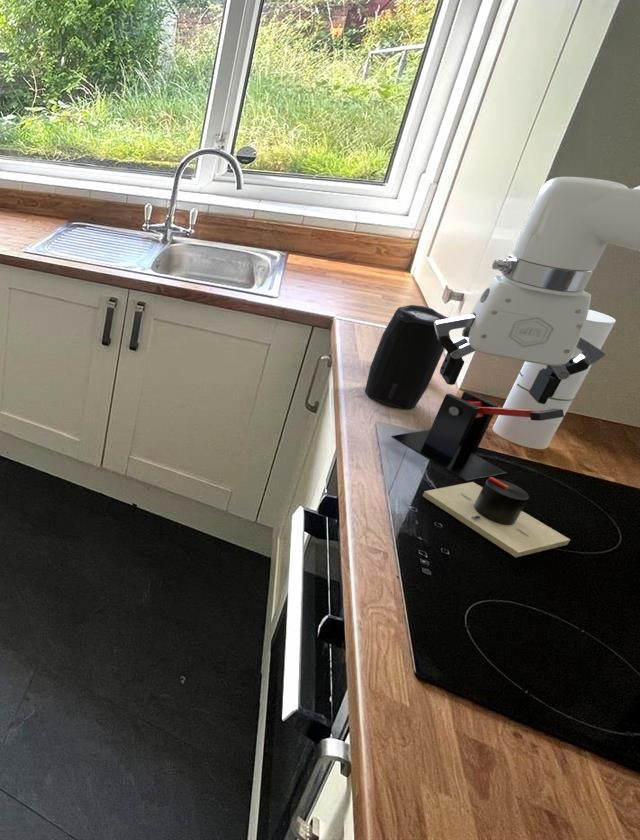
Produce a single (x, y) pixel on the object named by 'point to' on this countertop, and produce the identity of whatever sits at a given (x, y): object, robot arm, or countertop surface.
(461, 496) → the panel
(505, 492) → the knob
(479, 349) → the robot arm
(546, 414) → the lever
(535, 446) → the cylindrical container
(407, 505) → the countertop surface
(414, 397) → the portable speaker
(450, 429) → the black lever stand
